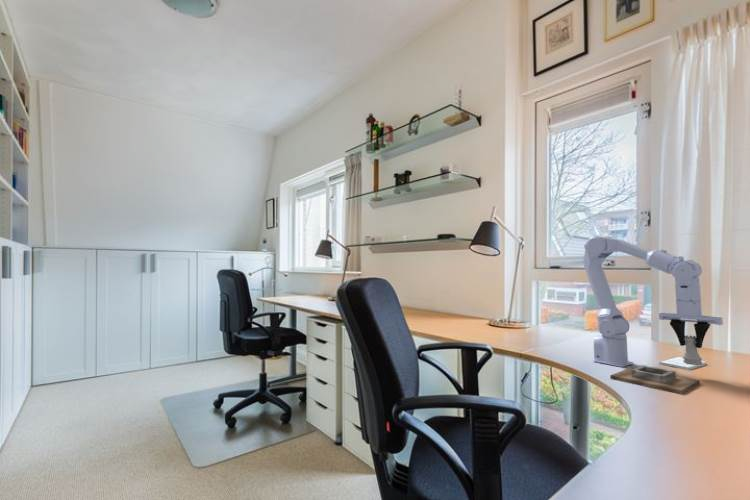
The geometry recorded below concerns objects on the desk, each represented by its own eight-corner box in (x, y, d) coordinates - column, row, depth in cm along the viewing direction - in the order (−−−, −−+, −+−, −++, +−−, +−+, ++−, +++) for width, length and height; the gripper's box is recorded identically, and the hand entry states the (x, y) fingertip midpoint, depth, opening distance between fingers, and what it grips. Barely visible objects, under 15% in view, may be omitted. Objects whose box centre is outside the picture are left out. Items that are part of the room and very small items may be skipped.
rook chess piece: (706, 365, 107) (703, 337, 107) (689, 365, 108) (686, 337, 108) (696, 361, 111) (693, 334, 112) (679, 361, 112) (677, 335, 112)
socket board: (610, 378, 110) (609, 368, 110) (631, 370, 118) (630, 361, 118) (681, 394, 96) (680, 382, 96) (699, 383, 104) (699, 372, 104)
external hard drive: (706, 366, 123) (688, 372, 117) (677, 361, 130) (658, 366, 124) (706, 361, 123) (688, 366, 117) (677, 356, 130) (658, 361, 124)
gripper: (654, 299, 114) (656, 344, 113) (716, 303, 102) (719, 352, 101) (663, 298, 118) (665, 341, 117) (723, 301, 106) (726, 349, 105)
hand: (690, 346), depth 110 cm, fingers closed on rook chess piece, 3 cm apart
